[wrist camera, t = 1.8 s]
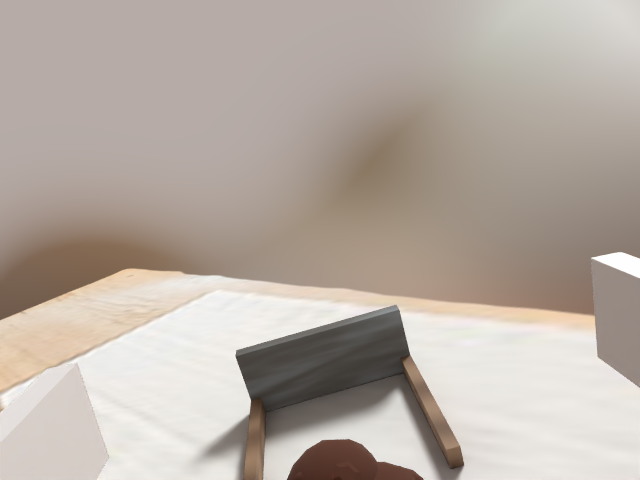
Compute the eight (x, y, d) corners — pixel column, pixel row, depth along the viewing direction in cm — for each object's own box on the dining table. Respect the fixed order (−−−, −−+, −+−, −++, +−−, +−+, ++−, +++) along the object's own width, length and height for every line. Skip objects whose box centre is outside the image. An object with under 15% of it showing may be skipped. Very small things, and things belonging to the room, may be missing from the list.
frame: (464, 464, 41) (446, 386, 39) (247, 527, 41) (217, 451, 39) (410, 363, 58) (396, 304, 56) (256, 407, 58) (236, 350, 55)
